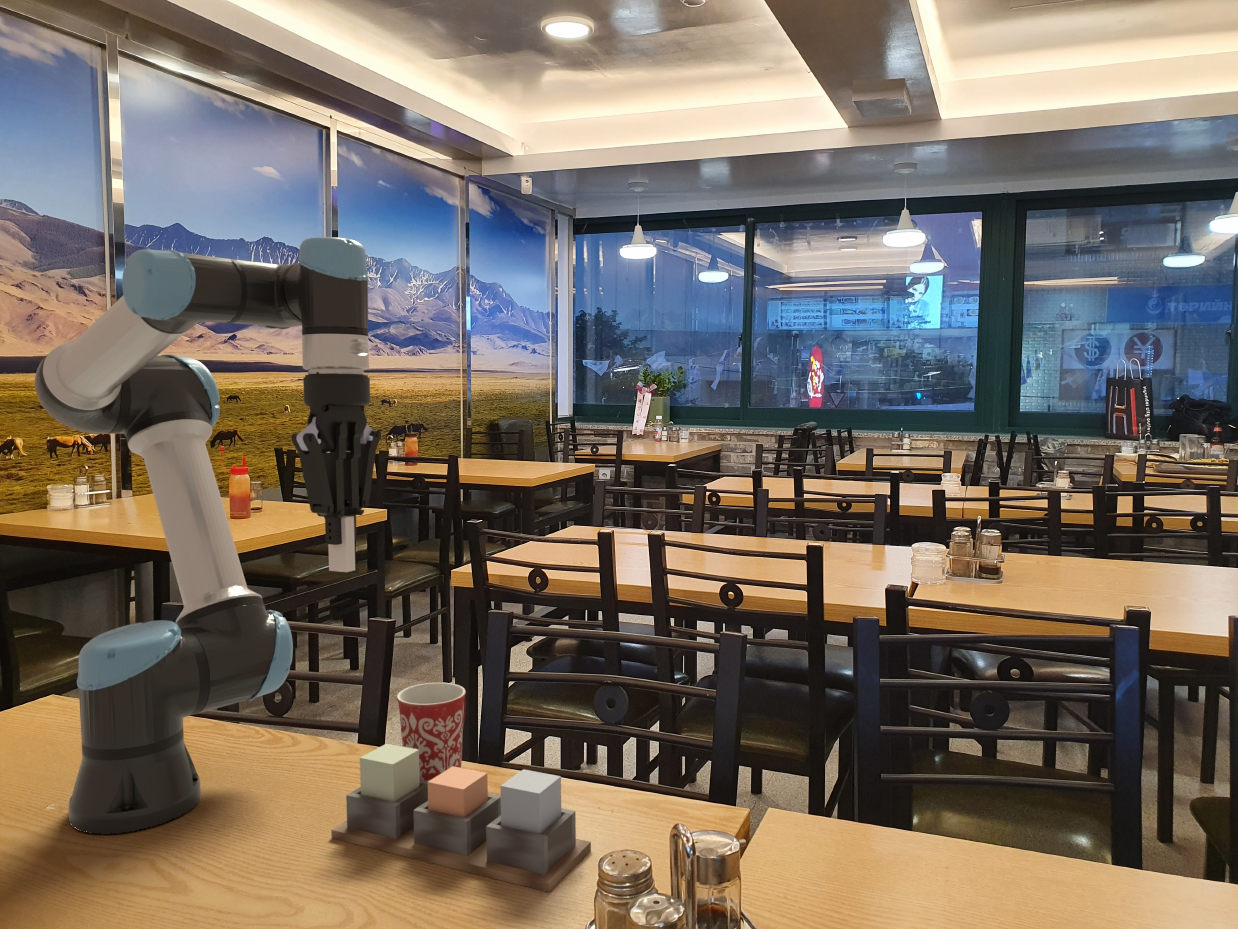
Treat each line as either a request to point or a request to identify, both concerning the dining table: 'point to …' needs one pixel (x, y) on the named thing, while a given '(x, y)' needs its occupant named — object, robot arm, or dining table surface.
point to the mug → (433, 725)
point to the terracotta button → (457, 791)
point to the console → (464, 838)
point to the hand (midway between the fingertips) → (342, 570)
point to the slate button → (531, 801)
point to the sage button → (389, 772)
